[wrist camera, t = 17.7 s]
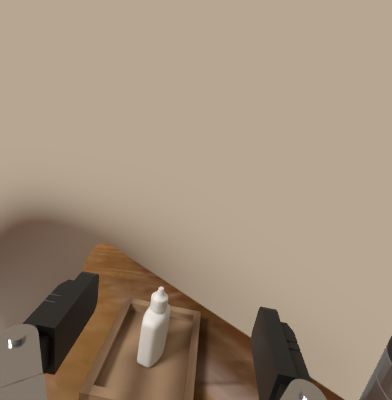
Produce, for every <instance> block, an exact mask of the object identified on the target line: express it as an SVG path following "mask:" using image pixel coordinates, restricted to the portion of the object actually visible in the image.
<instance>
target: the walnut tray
mask: <svg viewBox="0 0 392 400" xmlns="http://www.w3.org/2000/svg"><path fill="white" fill-rule="evenodd" d="M150 303H151V302H148V301H143V300H138V299H133V298H128V297H127V298H126V300H125V302H124V304H123V306H122V308H121V310H120V312H119V314H118V316H117V318H116V320H115V322H114V324H113V326H112V328H111V330H110V332H109V334H108V336H107V338H106V340H105V342H104V344H103V346H102V348H101V350H100V352H99V354H98V356H97V358H96V360H95V362H94V364H93V366H92V368H91V370H90V372H89V374H88V376H87V378H86V380H85V382H84V384H83V386H82V388H81V390H80V392H79V400H193V397H194V386H195V374H196V362H197V350H198V338H199V327H200V315H201V312H199V311H194V310H189V309H184V308H179V307H174V306H170V308H171V312H170V319H169V325H168V331H167V336H166V342H165V347H164V351H163V354H162V356H161V357H160V359H159V360H158V361H157V362H156V363H155V364H154V365H153V366H151V367H149V368H148V367H145V366H143V365H141V364H139V363H138V362H137V355H138V347H139V340H140V333H141V326H142V321H143V317H144V314H145V312H146V311H147V309H148V308H149V307H150Z"/></svg>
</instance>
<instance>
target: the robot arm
mask: <svg viewBox="0 0 392 400" xmlns="http://www.w3.org/2000/svg"><path fill="white" fill-rule="evenodd" d="M98 285H99V275H98V274H94V273H89V272H84V271H83V272H81V273H80V275H79V276H78V277H77V278H76V279H75V280H74V281H73V280H67V281H66V282H64V283H62V284H60V285H59V286H58V287H57V288H56V289H55V290H54V291H53V292H52V294H50V295H49V296H48V297H47V298H46V300H45V301H44V302H43V303H42V304H41V305H40V306H39V307H38V308H37V309H36V310H35V311H34V312H33V313H32V314H31V315H30V316H29V317H28V318H27V320H26V321H25V322H24V323H23V324H19V325H15V326H12V327H9V328H7V329H5V330H4V331H2V332H1V333H0V400H47V392H46V384H45V376H44V374H45V373H48V374H53V375H55V373H56V372H57V370H58V368H59V367H60V365H61V364H62V362H63V360H64V359H65V357H66V356H67V354H68V353H69V351H70V349H71V348H72V346H73V345H74V343H75V341H76V340H77V338H78V337H79V335H80V333H81V332H82V330H83V329H84V327H85V325H86V324H87V322H88V321H89V319H90V318H91V316H92V314H93V313H94V310H95V308H96V305H97V299H98ZM251 347H252V354H253V360H254V367H255V374H256V381H257V387H258V394H259V400H326V398H325V396H324V394H323V393H322V392H321V391H320V390H319V389H318V388H317V387H316V386H315V385H314V384H312V382H311V379H310V377H309V374H308V371H307V368H306V365H305V363H304V360H303V357H302V354H301V352H300V348H299V346H298V344H297V340H296V337H295V334H294V332H293V331H292V329H291V328H290V327H289V326H288V324H287V323H283V322H280V319H279V315H278V312H277V310H275V309H269V308H265V307H260V308H259V311H258V314H257V317H256V321H255V324H254V327H253V331H252V336H251ZM360 400H392V336H391V339H390V340H389V343H388V345H387V346H386V348H385V350H384V352H383V354H382V356H381V358H380V360H379V362H378V364H377V366H376V368H375V370H374V372H373V374H372V376H371V378H370V380H369V382H368V384H367V386H366V388H365V390H364V392H363V394H362V396H361V398H360Z"/></svg>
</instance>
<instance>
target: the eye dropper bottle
mask: <svg viewBox="0 0 392 400" xmlns="http://www.w3.org/2000/svg"><path fill="white" fill-rule="evenodd" d="M167 303H168V295H167V294H166V293H165V292H164V288H163V287H159V289H158V291H156V292H154V293H153V294H152V296H151V303H150V307H149V308H148V309H147V311H146V312H145V314H144V317H143V321H142V326H141V333H140V340H139V347H138V355H137V362H138V363H139V364H141V365H143V366H145V367H148V368H149V367H151V366H153V365H154V364H155V363H156V362H157V361H158V360H159V359H160V357H161V356H162V354H163V351H164V347H165V342H166V336H167V331H168V325H169V319H170V312H171V308H170V305H169V304H167Z"/></svg>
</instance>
